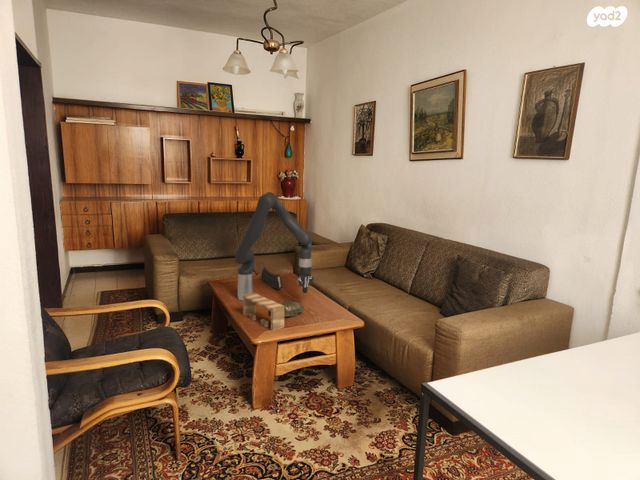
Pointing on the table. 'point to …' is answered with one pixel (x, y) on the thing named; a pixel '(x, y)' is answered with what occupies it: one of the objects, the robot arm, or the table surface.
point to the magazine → (271, 279)
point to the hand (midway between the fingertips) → (305, 292)
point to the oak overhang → (275, 308)
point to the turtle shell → (292, 308)
